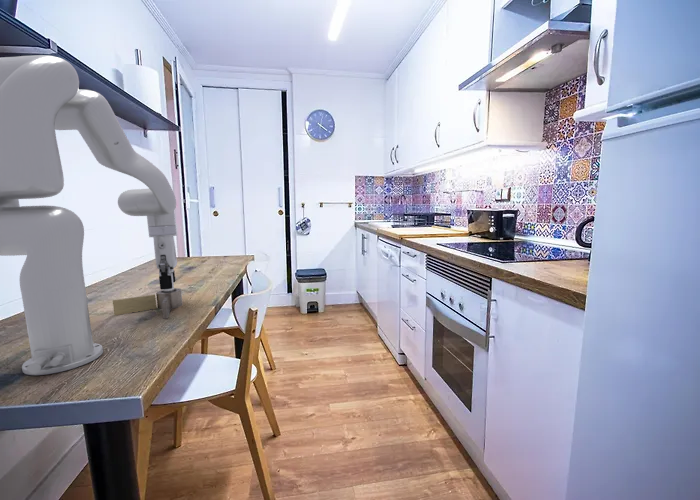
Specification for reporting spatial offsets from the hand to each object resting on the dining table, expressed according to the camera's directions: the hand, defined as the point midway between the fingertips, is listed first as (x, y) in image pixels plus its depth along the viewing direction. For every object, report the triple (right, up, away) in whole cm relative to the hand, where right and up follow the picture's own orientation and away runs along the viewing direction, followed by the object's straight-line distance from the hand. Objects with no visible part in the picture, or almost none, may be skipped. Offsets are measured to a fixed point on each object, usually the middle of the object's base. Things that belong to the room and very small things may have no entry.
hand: (168, 285), depth 104 cm
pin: (0, -7, +1) cm, 7 cm away
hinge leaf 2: (+2, -7, -4) cm, 8 cm away
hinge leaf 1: (-8, -7, -4) cm, 11 cm away
